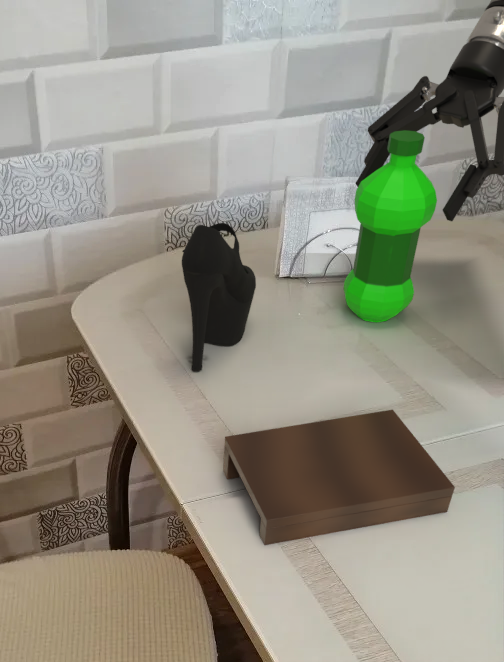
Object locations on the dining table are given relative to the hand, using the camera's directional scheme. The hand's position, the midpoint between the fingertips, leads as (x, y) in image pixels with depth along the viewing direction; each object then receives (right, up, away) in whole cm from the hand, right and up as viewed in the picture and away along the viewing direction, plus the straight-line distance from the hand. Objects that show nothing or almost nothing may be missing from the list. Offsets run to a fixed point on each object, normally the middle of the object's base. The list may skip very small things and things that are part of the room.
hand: (402, 202), depth 108 cm
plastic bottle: (-1, -13, +10) cm, 16 cm away
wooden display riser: (-15, -40, -20) cm, 47 cm away
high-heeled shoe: (-25, -18, +5) cm, 31 cm away
